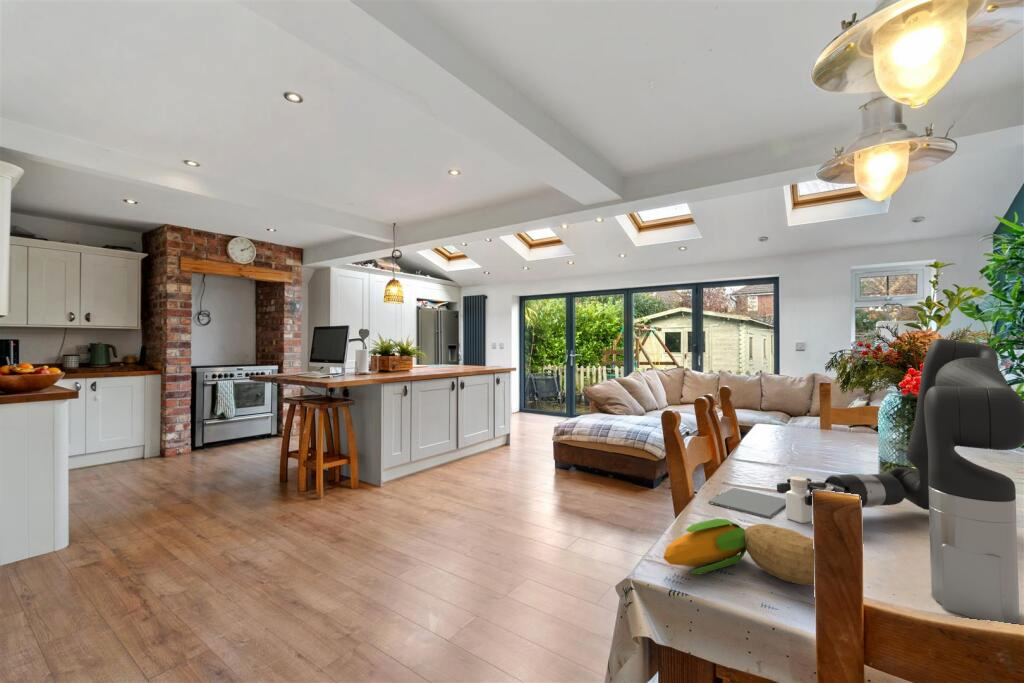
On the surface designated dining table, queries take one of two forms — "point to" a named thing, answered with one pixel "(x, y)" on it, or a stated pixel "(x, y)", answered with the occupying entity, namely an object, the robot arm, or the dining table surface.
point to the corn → (708, 545)
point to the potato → (781, 552)
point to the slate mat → (750, 502)
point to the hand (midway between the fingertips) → (791, 494)
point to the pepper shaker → (798, 501)
